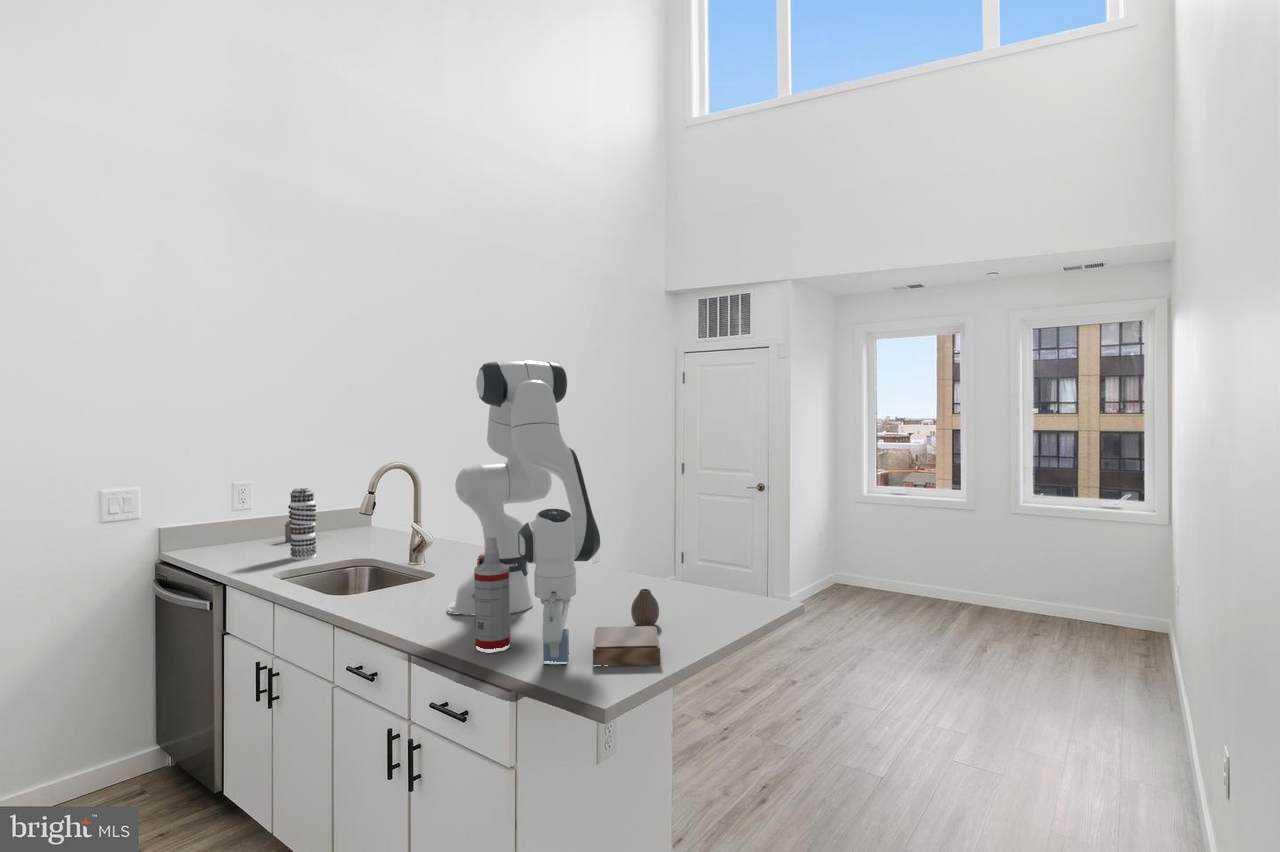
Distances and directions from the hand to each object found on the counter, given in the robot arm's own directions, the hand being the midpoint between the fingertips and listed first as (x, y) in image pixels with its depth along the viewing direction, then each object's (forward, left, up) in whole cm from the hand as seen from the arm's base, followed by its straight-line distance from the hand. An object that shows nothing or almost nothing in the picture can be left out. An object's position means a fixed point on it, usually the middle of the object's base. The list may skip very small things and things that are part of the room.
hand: (556, 650), depth 150 cm
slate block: (0, 0, -2) cm, 2 cm away
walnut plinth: (+15, +3, -2) cm, 15 cm away
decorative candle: (-101, +109, -2) cm, 149 cm away
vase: (+20, +23, -2) cm, 31 cm away
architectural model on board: (-117, +143, -3) cm, 185 cm away
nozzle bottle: (-15, +9, -2) cm, 18 cm away
